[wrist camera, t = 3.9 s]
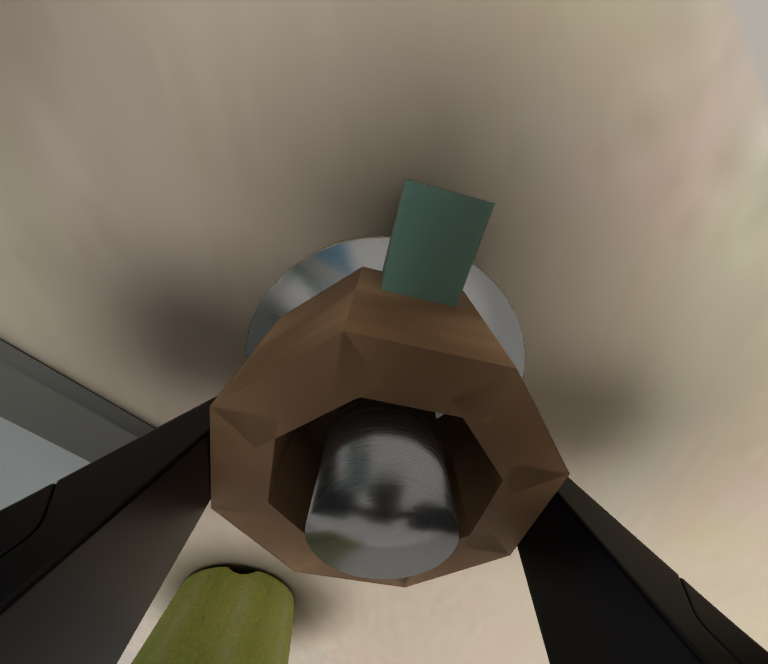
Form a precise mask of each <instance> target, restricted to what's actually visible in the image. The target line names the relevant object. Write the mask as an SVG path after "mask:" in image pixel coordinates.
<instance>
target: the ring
mask: <svg viewBox="0 0 768 664" xmlns="http://www.w3.org/2000/svg"><path fill="white" fill-rule="evenodd" d="M494 204H495V203H491V202H488V201H484V200H480V199H477V198H473V197H469V196H465V195H462V194H458V193H454V192H451V191H447V190H443V189H440V188H436V187H432V186H429V185H425V184H421V183H417V182H414V181H410V180H404V183H403V187H402V191H401V196H400V200H399V204H398V208H397V212H396V216H395V220H394V224H393V229H392V233H391V237H390V241H389V245H388V249H387V253H386V258H385V262H384V266H383V270H382V271H379V270H375V269H371V268H367V267H361V268H359V269H358V270H356V271H354V272H353V273H351V274H350V275H348V276H346V277H345V278H343V279H341V280H340V281H338V282H337V283H335V284H333V285H332V286H330V287H328V288H327V289H325V290H324V291H322V292H320V293H319V294H317V295H315V296H314V297H312V298H311V299H309V300H307V301H306V302H304V303H302V304H301V305H299V306H298V307H296V308H294V309H293V310H291V311H289V312H288V313H286V314H285V315H283V316H281V317H280V318H279V319H278V321H277V322H276V323H275V324H274V326H273V327H272V328H271V329H270V331H269V332H268V333H267V335H266V336H265V337H264V338H263V340H262V341H261V342H260V343H259V345H258V346H257V347H256V348H255V350H254V351H253V352H252V353H251V355H250V356H249V357H248V359H247V360H246V361H245V362H244V364H243V365H242V366H241V367H240V369H239V370H238V371H237V372H236V374H235V375H234V376H233V377H232V379H231V380H230V381H229V383H228V384H227V385H226V386H225V388H224V389H223V390H222V391H221V393H220V394H219V395H218V396H217V398H216V399H215V400H214V401H213V403H212V404H211V405H210V464H211V508H212V509H213V510H214V511H216V512H217V513H218V514H220V515H221V516H222V517H224V518H225V519H226V520H228V521H229V522H230V523H232V524H233V525H234V526H235V527H237V528H238V529H239V530H241V531H242V532H243V533H245V534H246V535H247V536H249V537H250V538H251V539H252V540H254V541H255V542H256V543H258V544H259V545H260V546H262V547H263V548H264V549H266V550H267V551H268V552H270V553H271V554H272V555H273V556H275V557H276V558H277V559H279V560H280V561H281V562H283V563H284V564H285V565H287V566H288V567H289V568H291V569H292V570H293V571H294V572H301V573H308V574H315V575H322V576H329V577H336V578H343V579H350V580H357V581H364V582H371V583H378V584H385V585H392V586H399V587H408V586H411V585H414V584H418V583H421V582H424V581H427V580H431V579H434V578H437V577H440V576H444V575H447V574H450V573H454V572H457V571H460V570H463V569H467V568H470V567H473V566H476V565H480V564H483V563H486V562H490V561H493V560H496V559H499V558H503V557H506V556H509V555H511V553H512V552H513V550H514V549H515V548H516V546H517V545H518V544H519V542H520V541H521V540H522V538H523V537H524V535H525V534H526V533H527V531H528V530H529V529H530V527H531V526H532V525H533V523H534V522H535V521H536V519H537V518H538V516H539V515H540V514H541V512H542V511H543V510H544V508H545V507H546V506H547V504H548V503H549V501H550V500H551V499H552V497H553V496H554V495H555V493H556V492H557V491H558V489H559V488H560V487H561V485H562V484H563V482H564V481H565V480H566V478H567V477H568V476H569V472H568V470H567V468H566V466H565V464H564V462H563V460H562V458H561V456H560V454H559V452H558V450H557V448H556V446H555V444H554V442H553V440H552V438H551V436H550V434H549V432H548V430H547V428H546V426H545V424H544V422H543V420H542V418H541V416H540V414H539V412H538V410H537V408H536V406H535V404H534V402H533V400H532V398H531V396H530V394H529V392H528V390H527V388H526V386H525V384H524V382H523V380H522V378H521V376H520V374H519V372H518V370H517V368H516V366H515V365H514V363H513V362H512V361H511V359H510V358H509V356H508V355H507V353H506V352H505V350H504V349H503V347H502V346H501V345H500V343H499V342H498V340H497V339H496V337H495V336H494V334H493V333H492V331H491V330H490V329H489V327H488V326H487V324H486V323H485V321H484V320H483V318H482V317H481V315H480V314H479V312H478V311H477V310H476V308H475V307H474V305H473V304H472V302H471V301H470V299H469V298H468V296H467V295H466V294H465V292H464V291H463V288H464V285H465V282H466V280H467V277H468V274H469V272H470V269H471V266H472V263H473V261H474V258H475V255H476V253H477V250H478V247H479V244H480V242H481V239H482V236H483V234H484V231H485V228H486V226H487V223H488V220H489V217H490V215H491V212H492V209H493V207H494ZM358 397H362V398H367V399H372V400H377V401H382V402H387V403H392V404H397V405H402V406H407V407H412V408H417V409H422V410H427V411H432V412H437V413H442V414H443V416H441V417H439V418H436V419H437V424H438V429H439V434H440V439H441V444H442V449H443V454H444V458H445V463H446V468H447V473H448V478H449V483H450V488H451V493H452V498H453V503H454V508H455V513H456V517H457V522H458V528H459V540H458V543H457V546H456V548H455V550H454V551H453V552H452V554H451V555H450V556H449V557H448V558H447V559H446V560H445V561H444V562H442V563H441V564H440V565H438V566H436V567H435V568H433V569H431V570H428V571H426V572H424V573H421V574H418V575H414V576H410V577H405V578H398V579H370V578H362V577H357V576H353V575H350V574H346V573H344V572H341V571H338V570H336V569H334V568H332V567H330V566H329V565H327V564H325V563H324V562H323V561H321V560H320V559H319V558H318V557H317V556H316V555H315V554H314V553H313V552H312V550H311V549H310V547H309V545H308V543H307V540H306V537H305V526H306V521H307V517H308V513H309V509H310V505H311V500H312V496H313V492H314V488H315V484H316V480H317V475H318V471H319V467H320V463H321V459H322V455H323V450H324V446H325V442H326V438H327V434H328V430H329V425H330V421H331V417H332V414H331V413H330V411H332V410H334V409H336V408H338V407H340V406H342V405H344V404H346V403H348V402H350V401H352V400H354V399H356V398H358Z"/></svg>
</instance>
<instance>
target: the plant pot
mask: <svg viewBox="0 0 768 664" xmlns="http://www.w3.org/2000/svg"><path fill="white" fill-rule="evenodd" d="M293 614H294V598H293V595H292V593H291V591H290V590H289V589H288V588H287V587H286V586H285V585H284V584H283V583H282V582H280V581H279V580H277V579H275V578H274V577H272V576H271V575H269V574H266V573H262V572H259V571H256V572H253V573H249V574H238V573H235V572H233V571H232V570H231V569H230V568H229V567H213V568H209V569H205V570H202V571H199V572H197V573H194V574H193V575H191V576H189V577H188V578H187V579H186V580H185V581H184V582H183V583H182V585H181V587H180V588H179V590H178V591H177V593H176V594H175V596H174V598H173V599H172V601H171V602H170V604H169V605H168V607H167V609H166V610H165V612H164V613H163V615H162V616H161V618H160V619H159V621H158V623H157V624H156V626H155V627H154V629H153V631H152V632H151V634H150V635H149V637H148V638H147V640H146V642H145V643H144V645H143V646H142V648H141V649H140V651H139V652H138V654H137V656H136V657H135V659H134V660H133V662H132V663H131V664H288V660H289V651H290V642H291V633H292V624H293Z"/></svg>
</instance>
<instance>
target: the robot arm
mask: <svg viewBox="0 0 768 664" xmlns="http://www.w3.org/2000/svg"><path fill="white" fill-rule="evenodd" d="M216 398H217V396H216V397H214V398H212V399H210V400H208V401H206V402H205V403H203V404H201V405H199V406H197V407H195V408H193V409H191V410H190V411H188V412H186V413H184V414H182V415H180V416H178V417H176V418H174V419H173V420H171V421H169V422H167V423H165V424H163V425H161V426H159V427H157V428H156V429H154V430H152V431H150V432H148V433H146V434H144V435H142V436H140V437H139V438H137V439H135V440H133V441H131V442H129V443H127V444H125V445H123V446H122V447H120V448H118V449H116V450H114V451H112V452H110V453H108V454H107V455H105V456H103V457H101V458H99V459H97V460H95V461H93V462H91V463H90V464H88V465H86V466H84V467H82V468H80V469H78V470H76V471H74V472H73V473H71V474H69V475H67V476H65V477H63V478H61V479H59V480H58V481H57V483H56V484H55V483H52V484H50V485H48V486H46V487H44V488H42V489H40V490H38V491H36V492H34V493H33V494H31V495H29V496H27V497H25V498H23V499H21V500H19V501H17V502H15V503H13V504H11V505H9V506H8V507H6V508H4V509H2V510H0V664H117V662H118V660H119V659H120V657H121V655H122V653H123V652H124V650H125V648H126V646H127V645H128V643H129V641H130V639H131V638H132V636H133V634H134V632H135V631H136V629H137V627H138V625H139V624H140V622H141V620H142V618H143V617H144V615H145V613H146V611H147V610H148V608H149V606H150V604H151V603H152V601H153V599H154V597H155V596H156V594H157V592H158V590H159V589H160V587H161V585H162V583H163V582H164V580H165V578H166V576H167V575H168V573H169V571H170V569H171V568H172V566H173V564H174V562H175V561H176V559H177V557H178V555H179V554H180V552H181V550H182V548H183V547H184V545H185V543H186V541H187V540H188V538H189V536H190V534H191V533H192V531H193V529H194V527H195V526H196V524H197V522H198V520H199V519H200V517H201V515H202V513H203V512H204V510H205V508H206V506H207V505H208V503H209V501H210V499H211V464H210V405H211V404H212V403H213V401H214V400H215V399H216ZM517 547H518V550H519V554H520V558H521V561H522V565H523V568H524V572H525V576H526V579H527V583H528V587H529V590H530V594H531V597H532V601H533V605H534V608H535V612H536V616H537V619H538V623H539V626H540V630H541V634H542V637H543V641H544V644H545V648H546V652H547V655H548V659H549V663H550V664H768V652H767V651H766V650H765V649H764V648H763V647H761V646H760V645H759V644H758V643H757V642H755V641H754V640H753V639H752V638H751V637H749V636H748V635H747V634H746V633H745V632H743V631H742V630H741V629H740V628H739V627H737V626H736V625H735V624H734V623H733V622H732V621H730V620H729V619H728V618H727V617H726V616H725V615H724V614H722V613H721V612H720V611H719V610H718V609H717V608H716V607H714V606H713V605H712V604H711V603H710V602H709V601H707V600H706V599H705V598H704V597H703V596H702V595H701V594H699V593H698V592H697V591H696V590H695V589H694V588H693V587H692V586H691V585H689V584H688V583H687V582H686V581H685V580H684V579H682V578H679V576H678V574H677V573H676V572H675V571H673V570H672V569H671V568H670V567H669V566H668V565H667V564H666V563H664V562H663V561H662V560H661V559H660V558H659V557H658V556H657V555H655V554H654V553H653V552H652V551H651V550H650V549H649V548H648V547H646V546H645V545H644V544H643V543H642V542H641V541H640V540H638V539H637V538H636V537H635V536H634V535H633V534H632V533H631V532H629V531H628V530H627V529H626V528H625V527H624V526H623V525H622V524H620V523H619V522H618V521H617V520H616V519H615V518H614V517H612V516H611V515H610V514H609V513H608V512H607V511H606V510H605V509H603V508H602V507H601V506H600V505H599V504H598V503H597V502H596V501H594V500H593V499H592V498H591V497H590V496H589V495H588V494H587V493H585V492H584V491H583V490H582V489H581V488H580V487H579V486H577V485H576V484H575V483H574V482H573V481H572V480H571V479H570V478H568V477H567V478H566V480H565V481H564V482H563V484H562V485H561V487H560V488H559V489H558V491H557V492H556V493H555V495H554V496H553V497H552V499H551V500H550V501H549V503H548V504H547V506H546V507H545V508H544V510H543V511H542V512H541V514H540V515H539V516H538V518H537V519H536V521H535V522H534V523H533V525H532V526H531V527H530V529H529V530H528V531H527V533H526V534H525V535H524V537H523V538H522V540H521V541H520V542H519V544H518V545H517Z"/></svg>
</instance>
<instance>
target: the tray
mask: <svg viewBox="0 0 768 664" xmlns="http://www.w3.org/2000/svg"><path fill="white" fill-rule="evenodd" d="M154 429H155V428H153V427H151V426H149V425H148V424H146V423H144V422H142V421H141V420H139V419H137V418H135V417H134V416H132V415H130V414H129V413H127V412H125V411H123V410H122V409H120V408H118V407H116V406H115V405H113V404H111V403H109V402H108V401H106V400H104V399H102V398H101V397H99V396H97V395H95V394H94V393H92V392H90V391H89V390H87V389H85V388H83V387H82V386H80V385H78V384H76V383H75V382H73V381H71V380H69V379H68V378H66V377H64V376H62V375H61V374H59V373H57V372H56V371H54V370H52V369H50V368H49V367H47V366H45V365H43V364H42V363H40V362H38V361H36V360H35V359H33V358H31V357H29V356H28V355H26V354H24V353H23V352H21V351H19V350H17V349H16V348H14V347H12V346H10V345H9V344H7V343H5V342H3V341H2V340H0V510H2V509H4V508H6V507H8V506H9V505H11V504H13V503H15V502H17V501H19V500H21V499H23V498H25V497H27V496H29V495H31V494H33V493H34V492H36V491H38V490H40V489H42V488H44V487H46V486H48V485H50V484H52V483H55V484H56V483H57V481H58V480H59V479H61V478H63V477H65V476H67V475H69V474H71V473H73V472H74V471H76V470H78V469H80V468H82V467H84V466H86V465H88V464H90V463H91V462H93V461H95V460H97V459H99V458H101V457H103V456H105V455H107V454H108V453H110V452H112V451H114V450H116V449H118V448H120V447H122V446H123V445H125V444H127V443H129V442H131V441H133V440H135V439H137V438H139V437H140V436H142V435H144V434H146V433H148V432H150V431H152V430H154Z"/></svg>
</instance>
